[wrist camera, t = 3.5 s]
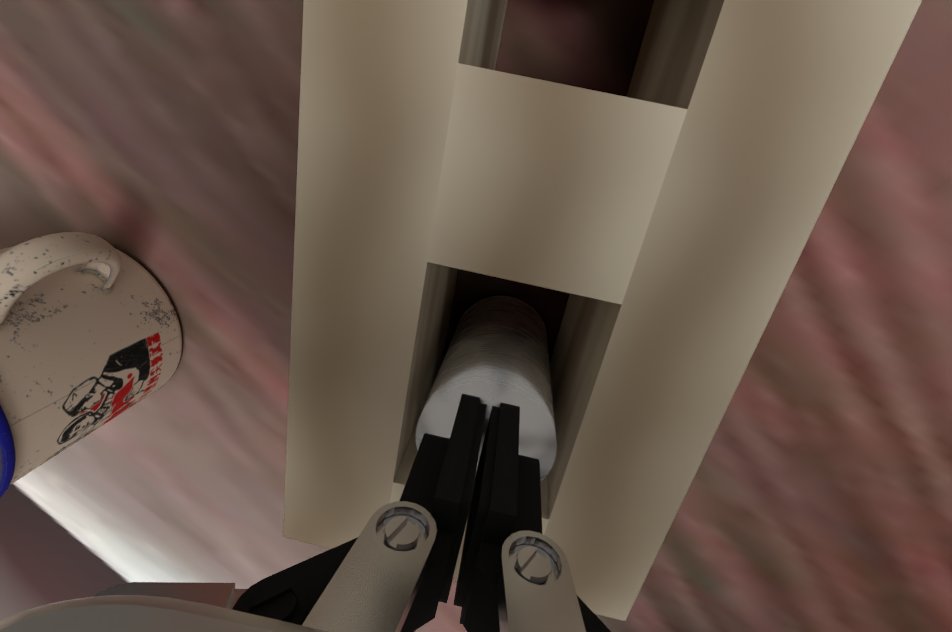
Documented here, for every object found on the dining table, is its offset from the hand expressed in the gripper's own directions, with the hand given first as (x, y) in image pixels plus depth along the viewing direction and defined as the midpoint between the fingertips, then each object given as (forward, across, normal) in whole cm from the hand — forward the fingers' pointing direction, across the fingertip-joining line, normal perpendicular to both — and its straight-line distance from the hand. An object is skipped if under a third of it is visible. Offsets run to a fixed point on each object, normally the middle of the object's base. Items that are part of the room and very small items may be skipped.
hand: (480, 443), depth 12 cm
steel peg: (+8, 0, 0) cm, 8 cm away
